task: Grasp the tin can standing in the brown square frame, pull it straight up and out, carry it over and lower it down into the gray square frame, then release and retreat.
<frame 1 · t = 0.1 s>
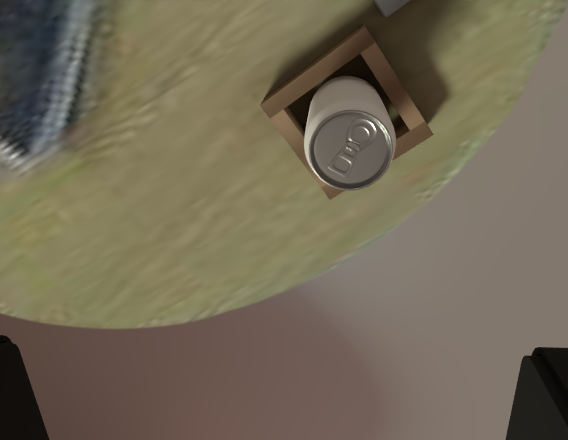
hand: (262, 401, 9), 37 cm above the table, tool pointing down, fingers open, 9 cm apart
can: (345, 111, 44), resting in brown square frame
brown square frame: (345, 111, 44), on the table
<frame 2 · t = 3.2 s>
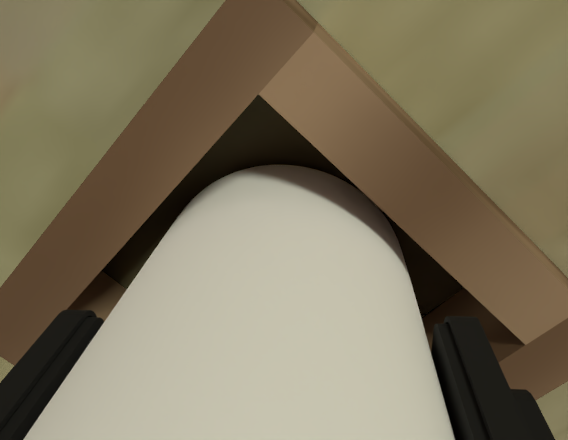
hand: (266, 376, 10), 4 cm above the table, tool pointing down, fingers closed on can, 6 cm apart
can: (284, 266, 14), resting in brown square frame, touching gripper
brown square frame: (285, 270, 14), on the table
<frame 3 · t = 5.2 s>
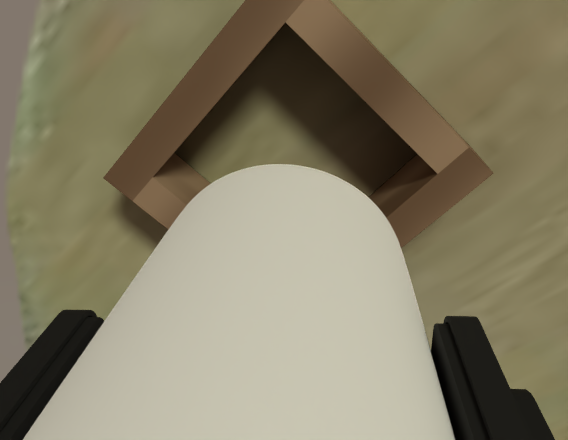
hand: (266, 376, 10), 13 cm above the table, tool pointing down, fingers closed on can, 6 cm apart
can: (285, 265, 14), point 8 cm above the table, touching gripper
brown square frame: (295, 150, 21), on the table
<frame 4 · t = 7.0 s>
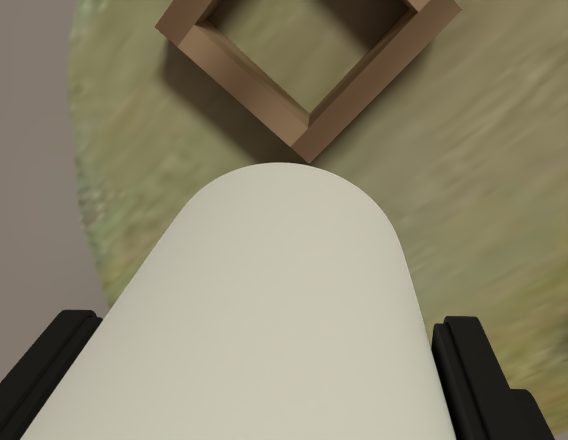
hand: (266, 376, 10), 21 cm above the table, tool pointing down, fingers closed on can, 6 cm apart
can: (284, 264, 14), point 17 cm above the table, touching gripper
brown square frame: (306, 14, 26), on the table
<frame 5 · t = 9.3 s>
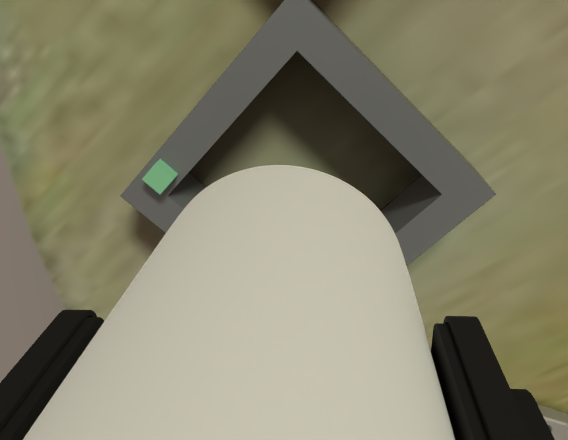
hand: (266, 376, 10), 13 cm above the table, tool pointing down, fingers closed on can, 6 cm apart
gray square frame: (304, 170, 22), on the table
can: (284, 266, 14), point 9 cm above the table, touching gripper
when the fingers open (6 cm above the table, at t = 11.2 s): can drops 1 cm, resting in gray square frame.
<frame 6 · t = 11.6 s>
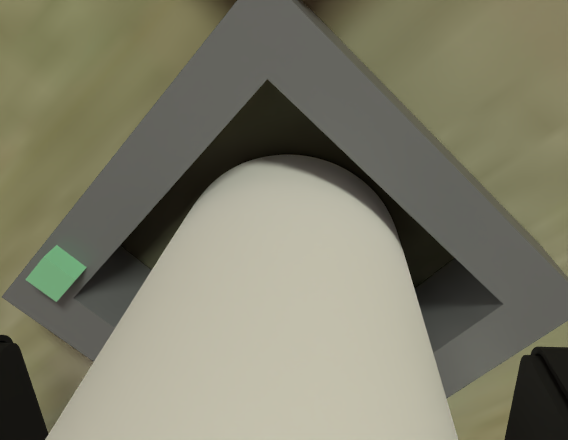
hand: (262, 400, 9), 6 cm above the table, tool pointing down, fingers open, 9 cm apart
gray square frame: (288, 245, 15), on the table
can: (291, 247, 15), resting in gray square frame
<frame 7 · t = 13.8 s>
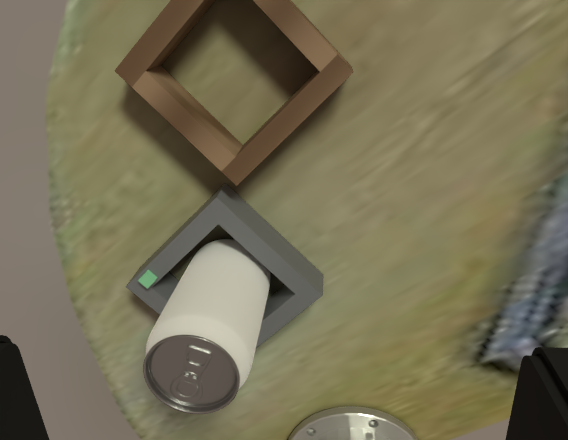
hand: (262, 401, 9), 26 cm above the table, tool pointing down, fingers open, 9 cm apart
gray square frame: (230, 270, 39), on the table
can: (231, 271, 39), resting in gray square frame
brown square frame: (239, 66, 32), on the table
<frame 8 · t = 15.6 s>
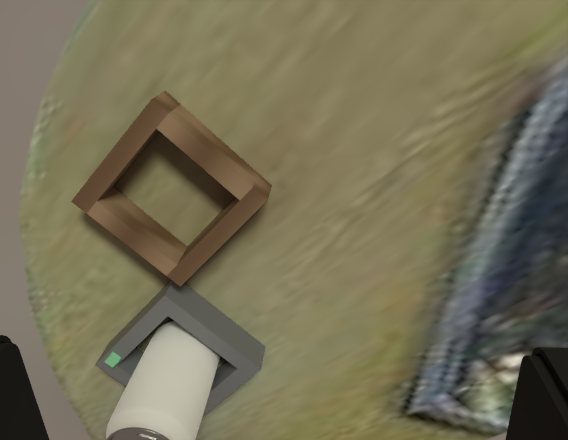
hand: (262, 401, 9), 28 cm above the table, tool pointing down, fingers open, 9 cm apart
gray square frame: (185, 344, 45), on the table
can: (187, 345, 45), resting in gray square frame
brown square frame: (178, 186, 38), on the table
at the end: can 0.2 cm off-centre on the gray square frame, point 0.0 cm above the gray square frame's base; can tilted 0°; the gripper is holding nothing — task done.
